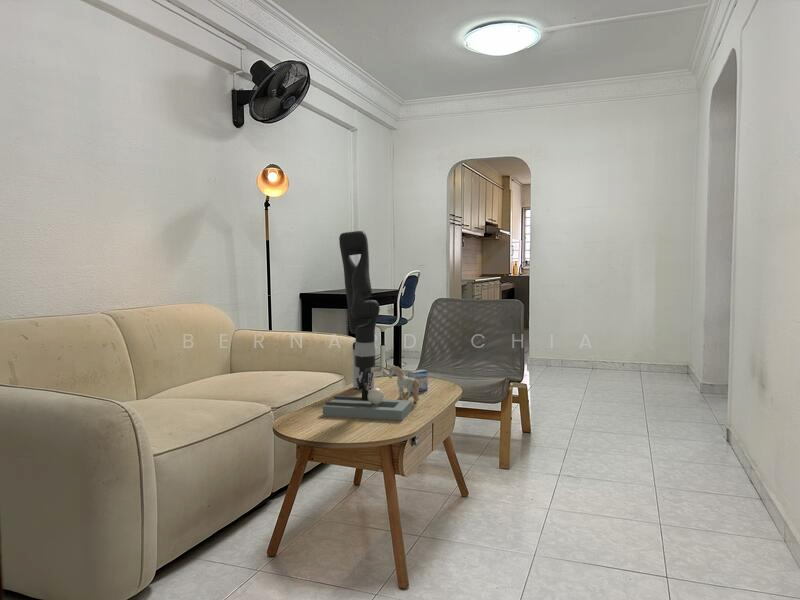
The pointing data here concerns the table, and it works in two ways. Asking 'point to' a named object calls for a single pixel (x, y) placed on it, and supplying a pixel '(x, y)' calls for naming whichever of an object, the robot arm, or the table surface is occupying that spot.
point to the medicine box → (420, 378)
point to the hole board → (367, 408)
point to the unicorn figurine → (404, 383)
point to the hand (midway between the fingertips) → (365, 399)
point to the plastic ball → (375, 396)
